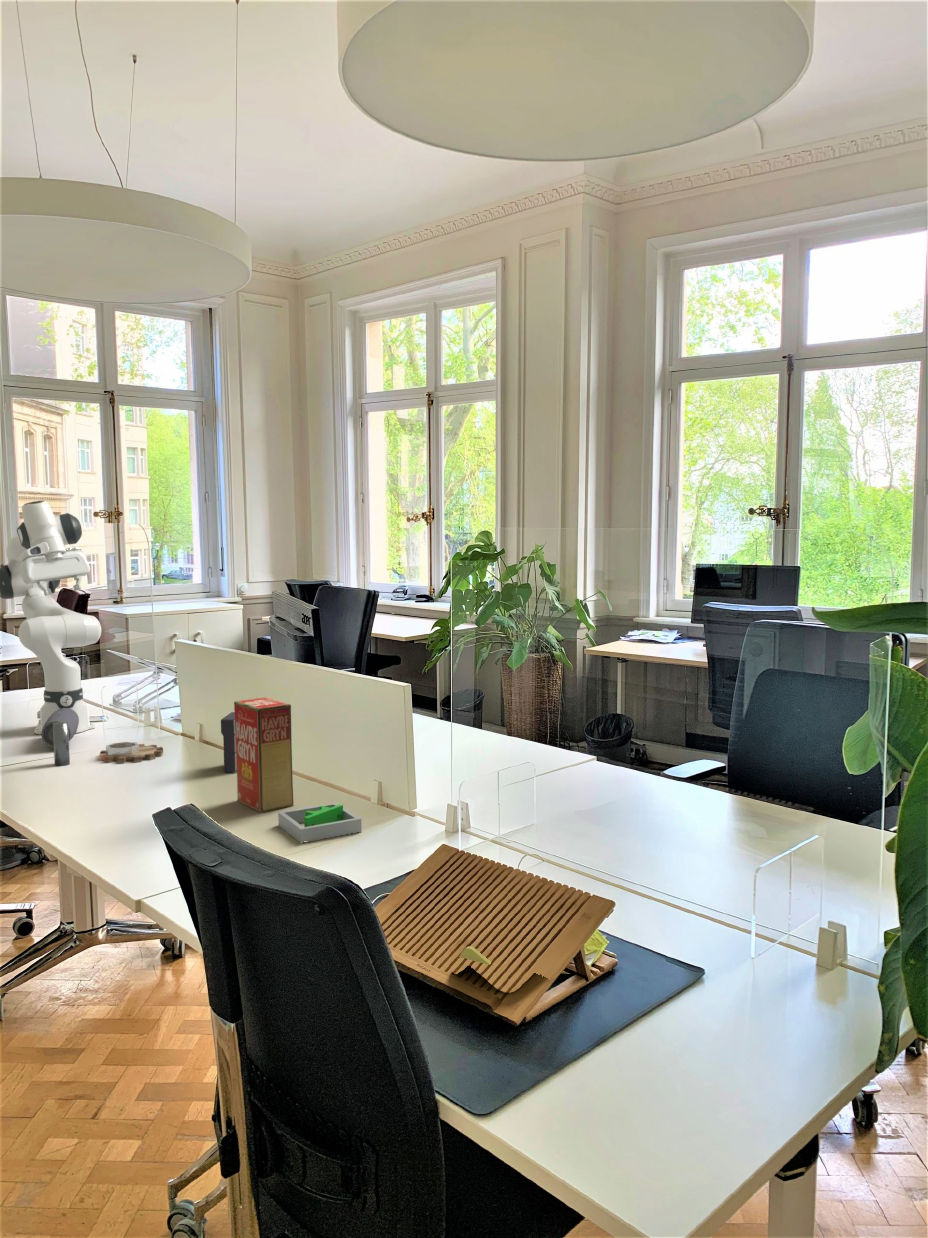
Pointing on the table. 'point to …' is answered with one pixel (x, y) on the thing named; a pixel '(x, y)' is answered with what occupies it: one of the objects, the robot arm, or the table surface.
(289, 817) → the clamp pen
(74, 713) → the bluetooth speaker
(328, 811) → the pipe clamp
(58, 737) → the pin
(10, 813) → the table surface
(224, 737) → the charcoal rounded block
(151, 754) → the sprocket
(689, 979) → the table surface
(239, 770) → the food packaging
